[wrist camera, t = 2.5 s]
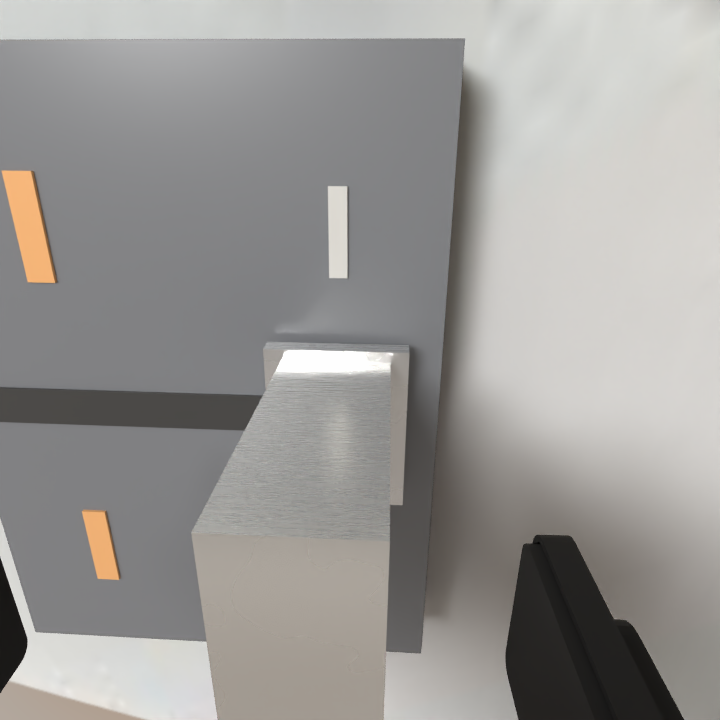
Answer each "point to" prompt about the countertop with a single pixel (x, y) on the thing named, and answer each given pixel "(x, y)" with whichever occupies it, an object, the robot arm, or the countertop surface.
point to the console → (203, 291)
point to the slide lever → (306, 537)
